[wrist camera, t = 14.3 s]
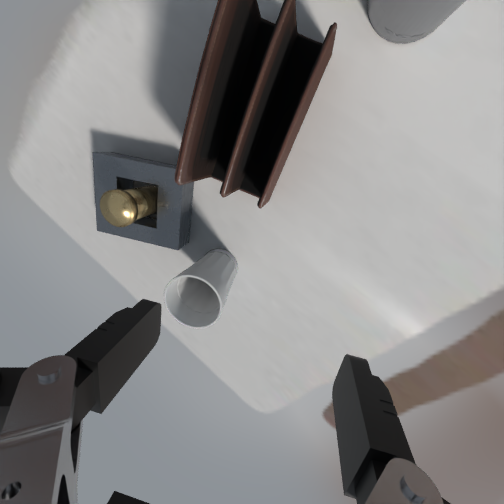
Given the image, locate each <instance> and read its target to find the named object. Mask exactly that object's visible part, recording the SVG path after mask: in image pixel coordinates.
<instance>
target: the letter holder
mask: <svg viewBox="0 0 504 504" xmlns="http://www.w3.org/2000/svg"><path fill="white" fill-rule="evenodd" d="M336 29H337V23H334V24H333V25H331V26H330V28H329V30H328V32H327V35H326V37H325V40H324V42H323V44H322V43H319V42H316V41H314V40H312V39H310V38H307V37H305V36H303V35H301V34H298V33H297V22H296V3H295V0H284V3H283V5H282V8H281V11H280V14H279V17H278V19H277V21H276V24H274V23H271V22H269V21H267V20H265V19H262V18H261V16H260V12H259V8H258V4H257V0H218V3H217V6H216V10H215V13H214V16H213V20H212V24H211V27H210V30H209V34H208V38H207V41H206V45H205V49H204V52H203V56H202V59H201V63H200V67H199V71H198V75H197V79H196V83H195V87H194V91H193V96H192V100H191V104H190V108H189V112H188V117H187V121H186V125H185V129H184V134H183V138H182V142H181V147H180V151H179V157H178V162H177V167H176V171H175V183H177V184H178V185H184V184H187V183H191V182H194V181H197V180H201V179H204V178H209V177H212V178H214V179H217V180H219V181H221V182H223V183H222V186H221V190H220V194H221V196H222V197H226V196H228V195H230V194H231V193H233V192H235V191H237V190H241V191H244V192H246V193H249V194H251V195H253V196H256V197H258V198H259V201H258V204H257V205H258V207H259V208H262V207H263V206H264V205H265V204H266V203H267V202H268V201H269V200H270V197H271V195H272V192H273V190H274V188H275V186H276V183H277V181H278V179H279V176H280V174H281V172H282V169H283V167H284V165H285V162H286V160H287V158H288V155H289V153H290V151H291V148H292V146H293V143H294V141H295V139H296V137H297V134H298V132H299V130H300V127H301V125H302V123H303V120H304V118H305V115H306V113H307V111H308V109H309V106H310V104H311V101H312V99H313V97H314V95H315V92H316V90H317V88H318V85H319V82H320V80H321V78H322V76H323V73H324V71H325V68H326V66H327V65H328V62H329V60H330V57H331V55H332V51H333V45H334V40H335V34H336Z"/></svg>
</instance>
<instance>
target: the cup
mask: <svg viewBox="0 0 504 504" xmlns="http://www.w3.org/2000/svg"><path fill="white" fill-rule="evenodd" d="M237 272H238V264H237V261H236V259H235V257H234V256H233V255H232V254H231V253H229V252H228V251H226V250H223V249H214V250H211V251H209V252H208V253H207V254H206V255H205V256H204V257H203V258H201V259H200V260H199V261H197V262H196V263H195V264H193V265H192V266H191V267H189V268H188V269H186V270H185V271H183V272H182V273H180V274H179V275H178V276H176V277H175V278H173V279H172V280H171V281H170V282H169V283H168V284H167V286H166V288H165V291H164V303H165V306H166V308H167V310H168V312H169V313H170V315H171V316H172V317H173V318H174V319H175V320H176V321H178V322H179V323H181V324H182V325H184V326H187V327H190V328H195V329H203V328H207V327H210V326H212V325H213V324H215V323H216V322H217V321H218V319H219V318H220V316H221V313H222V310H223V307H224V305H225V302H226V298H227V296H228V293H229V290H230V288H231V285H232V283H233V280H234V278H235V276H236V275H237Z"/></svg>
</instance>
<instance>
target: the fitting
mask: <svg viewBox="0 0 504 504" xmlns="http://www.w3.org/2000/svg"><path fill="white" fill-rule="evenodd" d="M157 205H158V188H157V187H155V186H152V185H148V186H143V187H137V188H132V189H127V190H122V189H114V190H109V191H106V192H105V193H104V194H103V195H102V197H101V199H100V210H101V213H102V215H103V216H104V218H105V219H106V220H107V221H108V222H109V223H110V224H112V225H113V226H116V227H125V226H128V225H131V224H132V223H134V222H135V221H136V220H138V219H140V218H143V217H145V216H148V215H151V214H153V213H156V212H157Z"/></svg>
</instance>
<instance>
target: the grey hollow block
mask: <svg viewBox="0 0 504 504" xmlns="http://www.w3.org/2000/svg"><path fill="white" fill-rule="evenodd" d="M176 167H177V166H175V165H170V164H165V163H160V162H155V161H151V160H146V159H141V158H136V157H131V156H126V155H121V154H116V153H109V152H93V168H94V186H95V203H96V221H97V231H101V232H105V233H109V234H113V235H117V236H121V237H126V238H130V239H134V240H138V241H142V242H146V243H150V244H154V245H159V246H163V247H167V248H171V249H175V250H179V249H180V248H182V247H183V246H184V245H186V244H187V243H188V242H189V233H190V221H191V210H192V198H193V187H194V182H191V183H187V184H184V185H178V184H177V183H175V171H176ZM133 180H136V181H141V182H145V183H150V184H155V185H158V205H157V220H156V219H152V218H148V217H143V218H140V219H138V220H136V221H135V222H134V223H132V224H131V225H128V226H125V227H116V226H113V225H112V224H110V223H109V222H108V221H107V220H106V219H105V218H104V216H103V215H102V213H101V210H100V199H101V197H102V195H103V194H104V193H105V192H106V191H109V190H114V189H122V190H127V189H132V188H133Z"/></svg>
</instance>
